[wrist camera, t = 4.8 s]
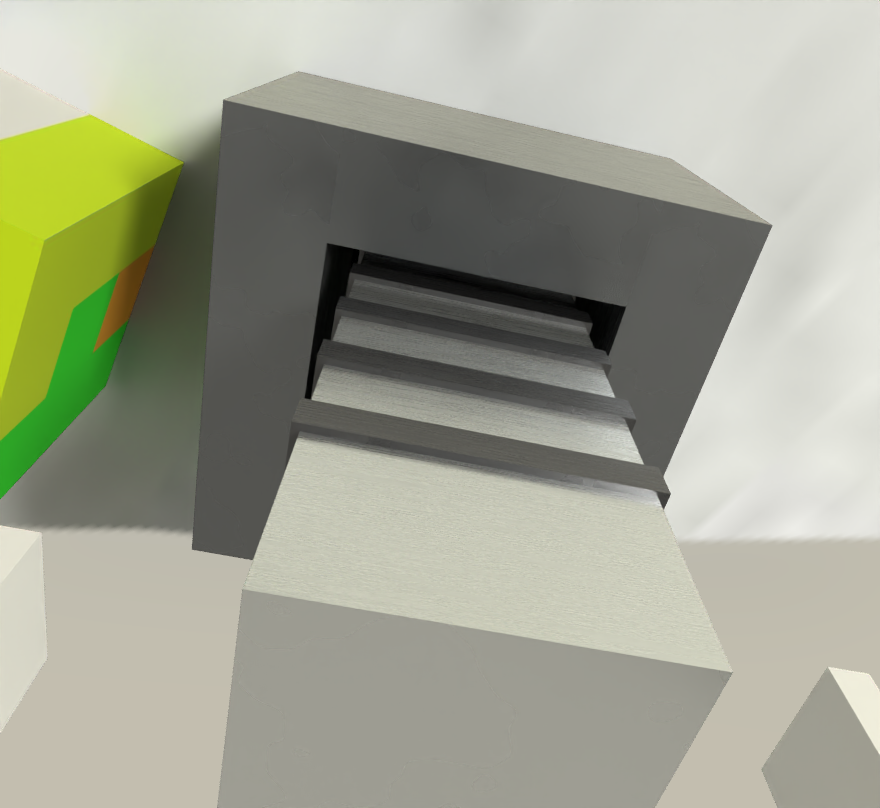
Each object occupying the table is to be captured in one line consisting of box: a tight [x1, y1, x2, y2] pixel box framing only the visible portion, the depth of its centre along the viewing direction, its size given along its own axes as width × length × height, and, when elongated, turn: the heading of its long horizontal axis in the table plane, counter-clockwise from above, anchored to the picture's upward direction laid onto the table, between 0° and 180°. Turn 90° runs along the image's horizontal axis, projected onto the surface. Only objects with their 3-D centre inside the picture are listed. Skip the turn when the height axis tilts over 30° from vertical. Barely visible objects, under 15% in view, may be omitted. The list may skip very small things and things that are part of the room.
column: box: [217, 250, 733, 808], centre depth 19 cm, size 6×6×20 cm
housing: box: [192, 71, 772, 560], centre depth 22 cm, size 13×13×12 cm
